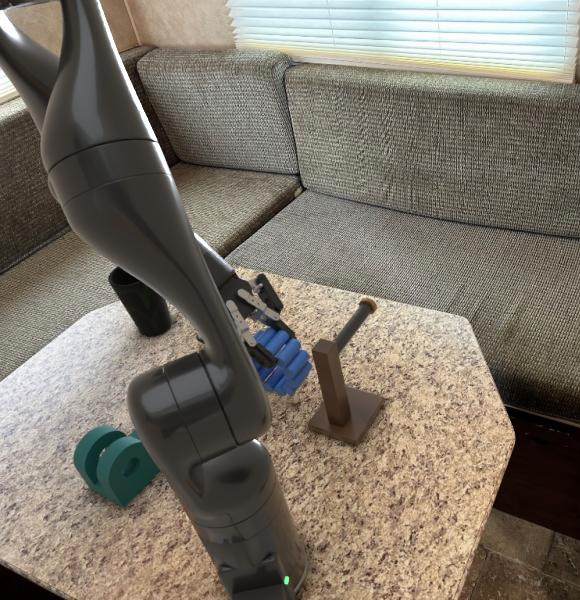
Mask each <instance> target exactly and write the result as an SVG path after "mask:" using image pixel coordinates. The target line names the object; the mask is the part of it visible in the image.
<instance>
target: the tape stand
mask: <svg viewBox="0 0 580 600" xmlns="http://www.w3.org/2000/svg"><path fill="white" fill-rule="evenodd" d="M356 309H357V310H355V312H353V314H352V315H351V317H350V318H349V319H348V321H346V323H345V325H344V326H343V327H342V328H341V329H340V331H339V332H338V333H337V334H336V336H335V338H333V340H329V339H326V338H323V337H320V338H319V339H318V340H317V342H316V343H315V344H314V345H313V347H312V348H311V349H310V350H311V355H312V359H313V363H314V367H315V371H316V376H317V379H318V383H319V387H320V391H321V396H322V400H323V401H322V403H321V404H320V405H319V407H318V409H317V410H316V411H315V412H314V414H313V416H312V417H311V418H310V419H309V421H308V422H307V427H308V430H310V431H313V432H316V433H319V434H321V435H325V436H328V437H330V438H333V439H336V440H339V441H342V442H345V443H348V444H351V445H354V446H357V447H358V446H359V445H360V443H361V441H362V440H363V438H364V437H365V435H366V434H367V431H368V430H369V429H370V427H371V426H372V424H373V422H374V420H375V419H376V417H377V416H378V414H379V413H380V411H381V410H382V409H383V406H384V404H385V403H386V402H385V396H383V395H379V394H376V393H372V392H369V391H365V390H362V389H359V388H356V387H352V386H349V385H347V384H346V383H345V377H344V372H343V367H342V362H341V359H340V355H341V353H342V352H343V351H344V349H345V348H346V347H347V345H348V344H349V342H350V341H351V340H352V339H353V337H354V336H355V335H356V333H357V332H358V330H359V329H360V328H361V327H362V325H363V324H364V323H365V321H366V320H367V319H368V317H369V316H372V315H373V314H375V313H376V311H377V309H378V305H377V303H376V302H375V301H374V300H373V299H372V298H371V297H363V298H362V299H360V300H359V302H358V308H356Z"/></svg>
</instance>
